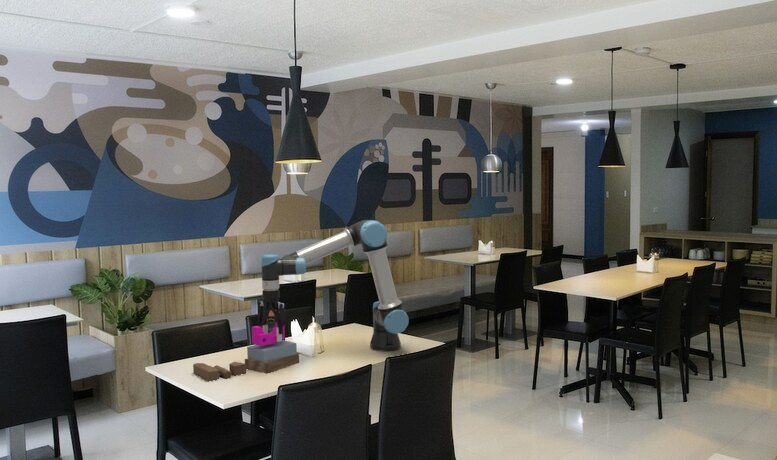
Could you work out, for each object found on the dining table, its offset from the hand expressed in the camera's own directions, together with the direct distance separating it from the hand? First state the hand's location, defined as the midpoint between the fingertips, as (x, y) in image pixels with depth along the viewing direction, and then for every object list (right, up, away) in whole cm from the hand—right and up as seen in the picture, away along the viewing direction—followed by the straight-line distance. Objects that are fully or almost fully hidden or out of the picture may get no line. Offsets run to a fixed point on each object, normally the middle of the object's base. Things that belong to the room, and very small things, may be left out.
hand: (272, 340), depth 287 cm
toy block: (-1, -1, -1) cm, 1 cm away
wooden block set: (-21, -13, -10) cm, 27 cm away
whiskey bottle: (-4, -10, +28) cm, 30 cm away
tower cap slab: (0, -7, 0) cm, 7 cm away
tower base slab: (0, -12, +1) cm, 12 cm away
